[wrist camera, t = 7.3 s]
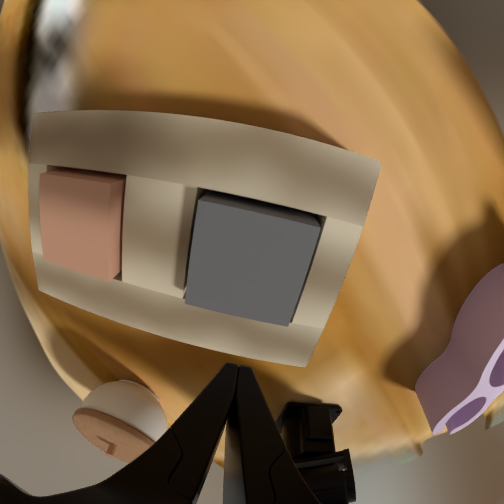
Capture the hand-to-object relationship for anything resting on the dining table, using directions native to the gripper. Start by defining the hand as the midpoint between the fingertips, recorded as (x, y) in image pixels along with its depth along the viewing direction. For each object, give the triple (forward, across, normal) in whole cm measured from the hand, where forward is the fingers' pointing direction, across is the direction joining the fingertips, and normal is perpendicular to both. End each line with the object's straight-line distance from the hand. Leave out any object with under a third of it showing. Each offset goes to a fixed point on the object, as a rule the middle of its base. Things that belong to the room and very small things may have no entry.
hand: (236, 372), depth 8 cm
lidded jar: (+12, +10, +22) cm, 27 cm away
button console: (+12, +6, -1) cm, 13 cm away
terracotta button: (+10, +11, -1) cm, 15 cm away
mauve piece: (+12, -26, +4) cm, 29 cm away
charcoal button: (+10, 0, -1) cm, 10 cm away
